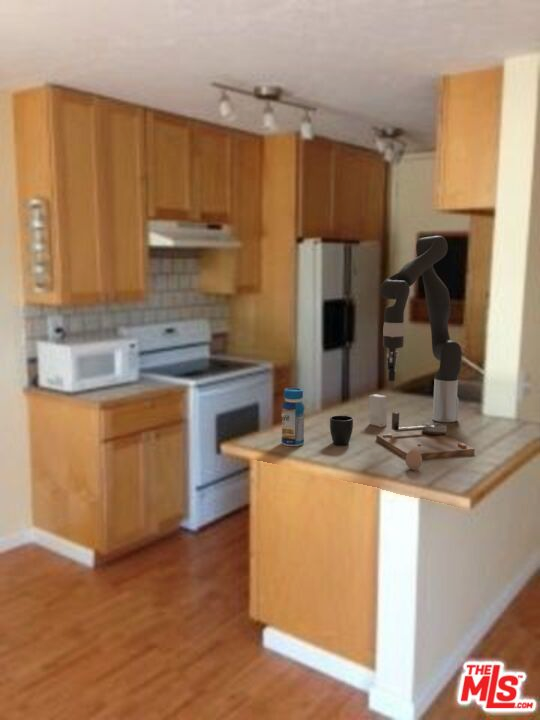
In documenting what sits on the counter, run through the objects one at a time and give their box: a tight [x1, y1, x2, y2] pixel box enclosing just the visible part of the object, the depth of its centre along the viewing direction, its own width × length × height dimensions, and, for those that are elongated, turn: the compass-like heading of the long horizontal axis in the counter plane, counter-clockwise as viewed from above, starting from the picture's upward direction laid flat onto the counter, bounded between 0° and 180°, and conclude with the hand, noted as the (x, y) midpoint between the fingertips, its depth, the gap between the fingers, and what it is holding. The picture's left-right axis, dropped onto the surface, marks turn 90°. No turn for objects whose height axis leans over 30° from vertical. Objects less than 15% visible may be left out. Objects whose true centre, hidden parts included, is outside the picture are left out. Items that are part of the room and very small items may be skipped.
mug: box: [329, 414, 354, 447], centre depth 244 cm, size 8×12×10 cm
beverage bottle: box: [280, 387, 306, 447], centre depth 241 cm, size 8×8×20 cm
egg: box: [405, 449, 423, 471], centre depth 214 cm, size 5×5×7 cm
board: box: [375, 430, 476, 460], centre depth 239 cm, size 25×25×3 cm
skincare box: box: [368, 393, 388, 428], centre depth 268 cm, size 6×4×12 cm
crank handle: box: [391, 411, 448, 435], centre depth 248 cm, size 22×9×8 cm, turn 106°
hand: (391, 380), depth 252 cm, fingers closed
